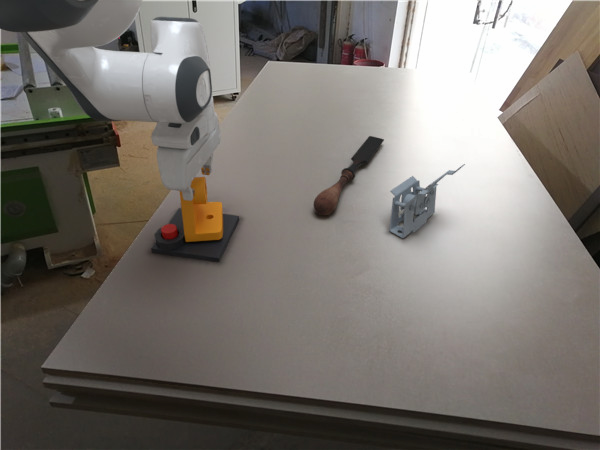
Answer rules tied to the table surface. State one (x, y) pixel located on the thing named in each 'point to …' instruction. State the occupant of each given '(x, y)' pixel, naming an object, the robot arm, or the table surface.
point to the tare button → (169, 231)
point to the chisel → (346, 176)
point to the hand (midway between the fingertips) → (198, 185)
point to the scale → (195, 249)
